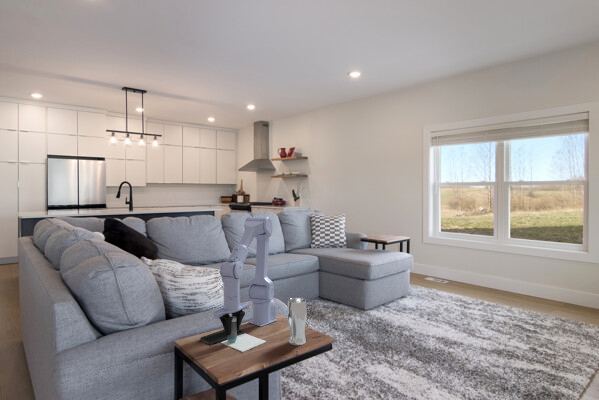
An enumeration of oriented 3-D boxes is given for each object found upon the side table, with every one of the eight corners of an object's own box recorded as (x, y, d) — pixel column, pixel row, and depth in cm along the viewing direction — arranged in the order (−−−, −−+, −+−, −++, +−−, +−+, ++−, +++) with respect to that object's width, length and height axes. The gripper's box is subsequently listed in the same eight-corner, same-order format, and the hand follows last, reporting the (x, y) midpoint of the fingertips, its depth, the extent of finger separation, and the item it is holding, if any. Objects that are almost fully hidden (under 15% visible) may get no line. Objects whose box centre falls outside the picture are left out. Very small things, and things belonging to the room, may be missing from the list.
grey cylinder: (235, 337, 130) (235, 315, 130) (237, 340, 127) (237, 318, 127) (226, 339, 129) (226, 317, 129) (228, 342, 126) (228, 319, 126)
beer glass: (309, 339, 130) (309, 298, 130) (303, 347, 123) (302, 303, 123) (291, 337, 132) (291, 296, 132) (284, 344, 126) (284, 301, 126)
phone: (198, 337, 131) (232, 326, 142) (199, 341, 131) (232, 329, 142) (211, 343, 125) (245, 331, 136) (211, 346, 125) (245, 334, 136)
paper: (244, 334, 136) (244, 333, 136) (266, 342, 128) (266, 341, 128) (220, 343, 127) (220, 342, 127) (242, 352, 120) (242, 351, 120)
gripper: (240, 289, 136) (240, 325, 136) (207, 297, 125) (208, 336, 125) (252, 292, 131) (253, 329, 132) (220, 301, 120) (220, 341, 121)
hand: (232, 333), depth 128 cm, fingers closed on grey cylinder, 3 cm apart
